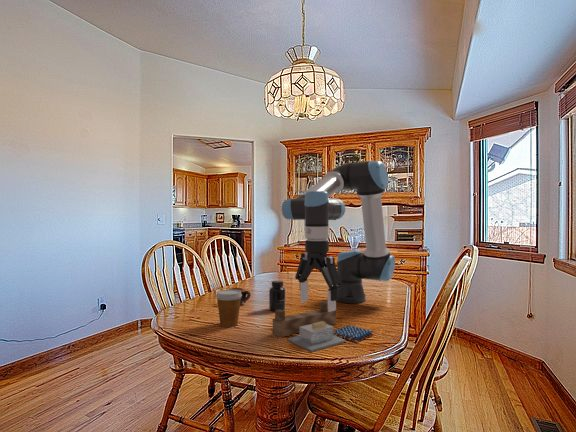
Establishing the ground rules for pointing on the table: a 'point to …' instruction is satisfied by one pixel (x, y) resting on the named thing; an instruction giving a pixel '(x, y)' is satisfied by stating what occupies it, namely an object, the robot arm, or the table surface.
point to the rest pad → (317, 346)
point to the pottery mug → (243, 295)
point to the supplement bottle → (277, 296)
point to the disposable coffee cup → (228, 307)
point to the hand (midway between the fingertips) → (317, 306)
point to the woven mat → (353, 333)
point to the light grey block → (316, 333)
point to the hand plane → (301, 320)
